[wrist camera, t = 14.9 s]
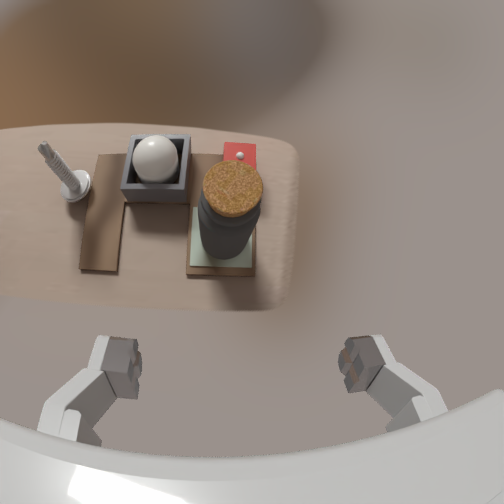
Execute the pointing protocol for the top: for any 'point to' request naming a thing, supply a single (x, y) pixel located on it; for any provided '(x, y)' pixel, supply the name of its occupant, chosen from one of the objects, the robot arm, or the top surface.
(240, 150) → the red die
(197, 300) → the top surface
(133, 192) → the dome collar
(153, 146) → the dome cap
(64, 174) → the screw
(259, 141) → the top surface
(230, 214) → the bottle
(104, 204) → the game board
